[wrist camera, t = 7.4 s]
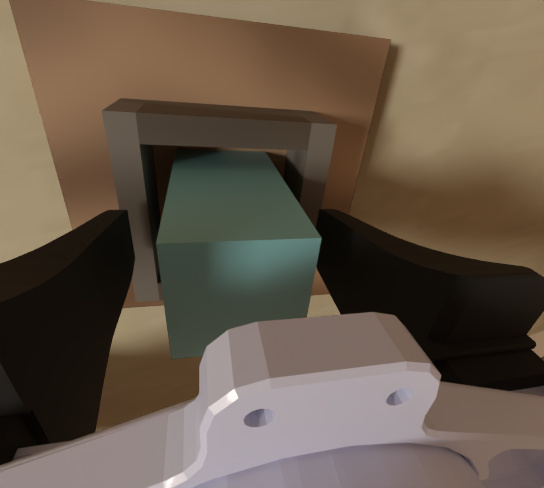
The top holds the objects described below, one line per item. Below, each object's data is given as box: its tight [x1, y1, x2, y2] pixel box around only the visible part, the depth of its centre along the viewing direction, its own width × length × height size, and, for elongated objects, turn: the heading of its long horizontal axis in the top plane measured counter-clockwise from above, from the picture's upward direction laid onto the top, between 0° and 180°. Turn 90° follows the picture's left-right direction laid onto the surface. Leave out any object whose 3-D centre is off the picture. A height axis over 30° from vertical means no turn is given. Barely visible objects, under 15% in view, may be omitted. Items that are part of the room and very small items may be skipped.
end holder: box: [9, 0, 391, 308], centre depth 14 cm, size 14×14×4 cm
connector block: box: [156, 149, 322, 359], centre depth 12 cm, size 4×4×8 cm
